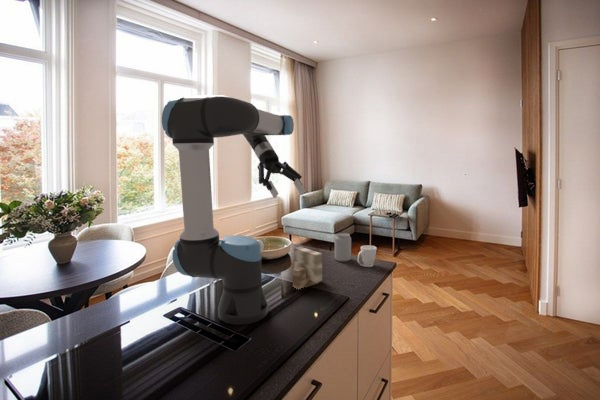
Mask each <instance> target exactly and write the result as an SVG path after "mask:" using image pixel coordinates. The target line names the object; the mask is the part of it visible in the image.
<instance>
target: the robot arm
mask: <svg viewBox="0 0 600 400" xmlns="http://www.w3.org/2000/svg"><path fill="white" fill-rule="evenodd" d="M161 126H162V129H163V131H164V133H165V135H166V136H167V137H168V138H170V139H171V140H172V146H173V147H175V149H177V150H178V158H179V173H180V174H179V175H180V185H181V186H180V187H181V199H182V201H181V203H182V214H183V226H184V227H183V231H182V232H181V233H180V235H179V239H178V240H177V241H176V242H175V243H174V247H173V248H174V249H173V250H172V262H173V265H174V268H175V269H176V271H177V272H178V273H180V274H181V275H183V276H188V277H191V278H203V279H204V278H205V279H215V280H222V294H221V296H220V299H219V303H218V306H217V315H218V316H217V317H218V318H219V320H220V321H221V322H223V323H226V324H230V325H236V326H237V325H249V324H253V323H256V322H259V321H260V320H263V319H265V318H266V317H267V316H268V313H269V303H268V300H267V298H266V295H265V292H264V290H263V284H262V280H263V279H262V277H263V275H262V273H263V272H262V269H263V268H262V266H263V265H262V258H263V255H262V252H261V247H260V244H259V242H258V241H257V240H258V239H256V238H254V237H251V236H247V235H241V234H237V235H234V234H233V235H232V234H230V235H226V236H223V237H222V238H221V240H220V233H219V231H218V229H216V228H215V227H214V213H213V211H214V209H213V195H212V194H213V193H212V181H211V180H212V178H211V166H210V165H211V162H210V161H211V160H210V150H211V148H212V147H213V146H214V145H215V141H214V138H225V137H231V136H237V135H238V136H239V135H243V136H244V139H246V141H247V143H248V144H249V145H250V146H251V149H252V151H253V152H254V154H255V156H256V157H257V159H258V160H259V163H258V165H257V169H258V184H259V185H262V186H263V187H265V188H266V189H267V191H269V192H270V194H271V195H272V197H273V199H276V198H277V197H278V195H279V192H278V190H277V188H276V187H275V185H274V183H273V181H272V180H270V178H271V175H274V174H280V175H283V176H284V177H286V178H288V179H289V180H290V181H292V182H293V184H294V187H296V189H297V191H298V193H299V194H300V195H301V196H303V195H304V194H305V192H306V190H305V187H304V186H303V183H302V181H301V179H302V177H303V176H302V175H301V174H300V173H299V172H297V171H296V170H295V169H294V168H293V167H291V165H289V163H288V162H287V161H284V162H281V161H279V160H280V159H279V156H278V154H277V152H276V151H275V150H274V148H273V146H272V144H271V143H270V141H269V140H268V138H267V137H266V136H288V135H292V134H293V132H294V127H295V124H294V119H293V117H292V115H286V114H284V115H281V114H280V115H279V114H275V113H271V112H268V111H265V110H262V109H258V108H257V107H256V106H255V105H254V104H253V103H251V102H249V101H245V100H242V99H239V98H235V97H232V96H227V95H219V94H217V95H215V94H214V95H213V94H212V95H196V96H195V95H194V96H192V95H191V96H182V97H174V98H172V99H169V101H168V102H167V103H166V104H165V105H164V106H163V109H162V113H161ZM265 170H266V173H265ZM265 174H266V175H265Z"/></svg>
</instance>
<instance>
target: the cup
mask: <svg viewBox="0 0 600 400" xmlns="http://www.w3.org/2000/svg"><path fill="white" fill-rule="evenodd" d="M377 250H378V247H377V246H375V245H369V244H368V245H367V244H366V245H362V246H360V251H359V252H358V254H357V259H356V260H357V263H358V265H360V266H362V267H363V268H364V267H366V268H371V267H373V266H374V263H375V260H376V253H377ZM360 256H361V260H362V263H361V262H360Z"/></svg>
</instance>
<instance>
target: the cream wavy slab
mask: <svg viewBox="0 0 600 400" xmlns="http://www.w3.org/2000/svg"><path fill="white" fill-rule="evenodd" d="M293 251H294V252H293V255H294V257H293V259H294V263H293V266H294V267H293V269H295V268H298V267H302V268H305V269H306V278H307V279H309V280H311V281H314V282H319V281H322V282H323V253H321V252H318V251H316V250H312V249H309V248H305V247H303V246H297V247H294V248H293ZM319 283H320V282H319Z"/></svg>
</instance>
